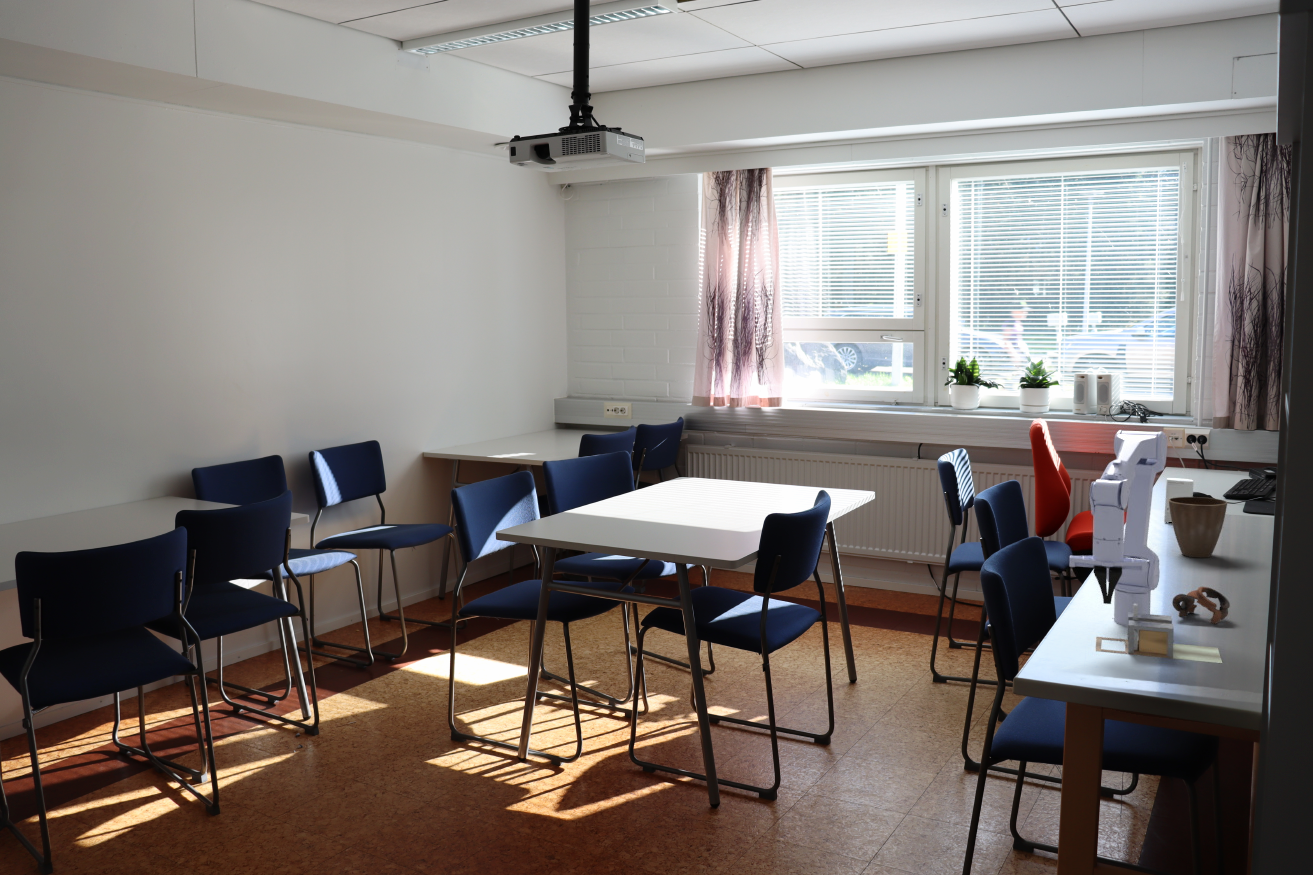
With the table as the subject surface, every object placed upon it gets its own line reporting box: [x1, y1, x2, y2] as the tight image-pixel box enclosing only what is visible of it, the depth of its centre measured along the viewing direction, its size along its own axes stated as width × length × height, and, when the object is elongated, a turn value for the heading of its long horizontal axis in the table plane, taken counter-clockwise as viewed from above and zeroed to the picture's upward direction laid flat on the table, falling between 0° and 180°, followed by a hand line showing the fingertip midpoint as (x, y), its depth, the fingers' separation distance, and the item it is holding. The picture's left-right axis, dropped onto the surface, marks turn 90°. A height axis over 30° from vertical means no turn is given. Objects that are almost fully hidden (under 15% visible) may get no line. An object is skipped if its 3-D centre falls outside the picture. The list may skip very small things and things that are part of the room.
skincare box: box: [1163, 477, 1194, 523], centre depth 332 cm, size 8×6×15 cm
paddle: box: [1133, 603, 1139, 650], centre depth 202 cm, size 6×1×9 cm, turn 155°
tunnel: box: [1127, 613, 1175, 659], centre depth 201 cm, size 9×8×6 cm
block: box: [1138, 630, 1167, 654], centre depth 201 cm, size 5×5×4 cm
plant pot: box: [1169, 496, 1228, 559], centre depth 285 cm, size 15×15×16 cm
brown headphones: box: [1171, 586, 1231, 625], centre depth 225 cm, size 12×10×8 cm
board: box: [1095, 636, 1223, 664], centre depth 201 cm, size 10×22×2 cm, turn 65°
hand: (1107, 602), depth 204 cm, fingers closed
